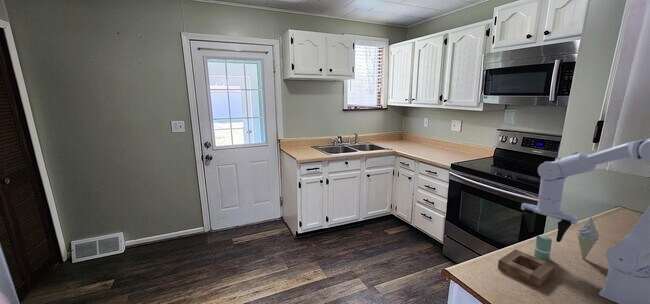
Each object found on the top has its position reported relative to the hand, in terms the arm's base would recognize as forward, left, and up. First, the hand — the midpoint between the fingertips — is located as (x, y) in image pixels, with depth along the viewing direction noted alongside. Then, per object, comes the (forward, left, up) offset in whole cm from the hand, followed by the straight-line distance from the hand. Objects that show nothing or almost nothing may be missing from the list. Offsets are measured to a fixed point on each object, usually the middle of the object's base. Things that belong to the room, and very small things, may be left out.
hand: (544, 236), depth 90 cm
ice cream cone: (-8, -10, -8) cm, 15 cm away
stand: (-1, +13, -8) cm, 15 cm away
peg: (0, 0, -8) cm, 8 cm away
